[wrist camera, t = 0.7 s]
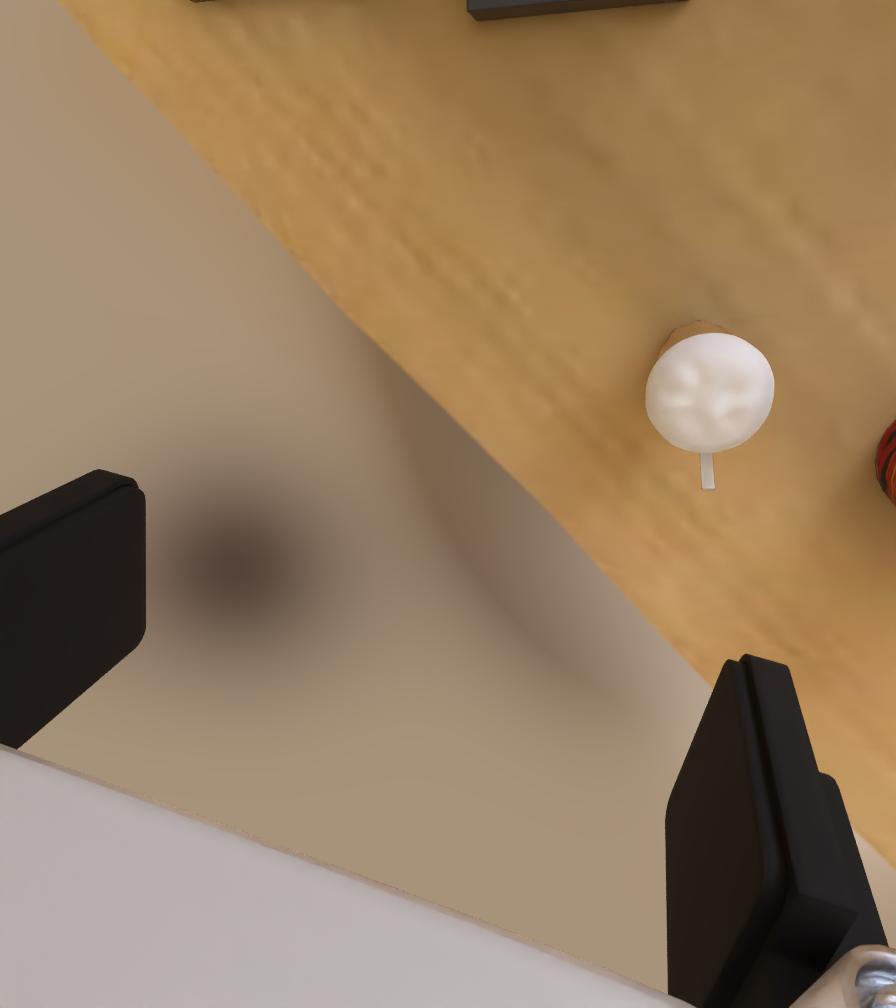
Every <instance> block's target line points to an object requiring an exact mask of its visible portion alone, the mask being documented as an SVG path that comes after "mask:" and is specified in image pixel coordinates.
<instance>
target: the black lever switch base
mask: <svg viewBox="0 0 896 1008" xmlns="http://www.w3.org/2000/svg"><path fill="white" fill-rule="evenodd" d="M190 1H193V2H195V3H197V2H205V1H214V0H190Z"/></svg>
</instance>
